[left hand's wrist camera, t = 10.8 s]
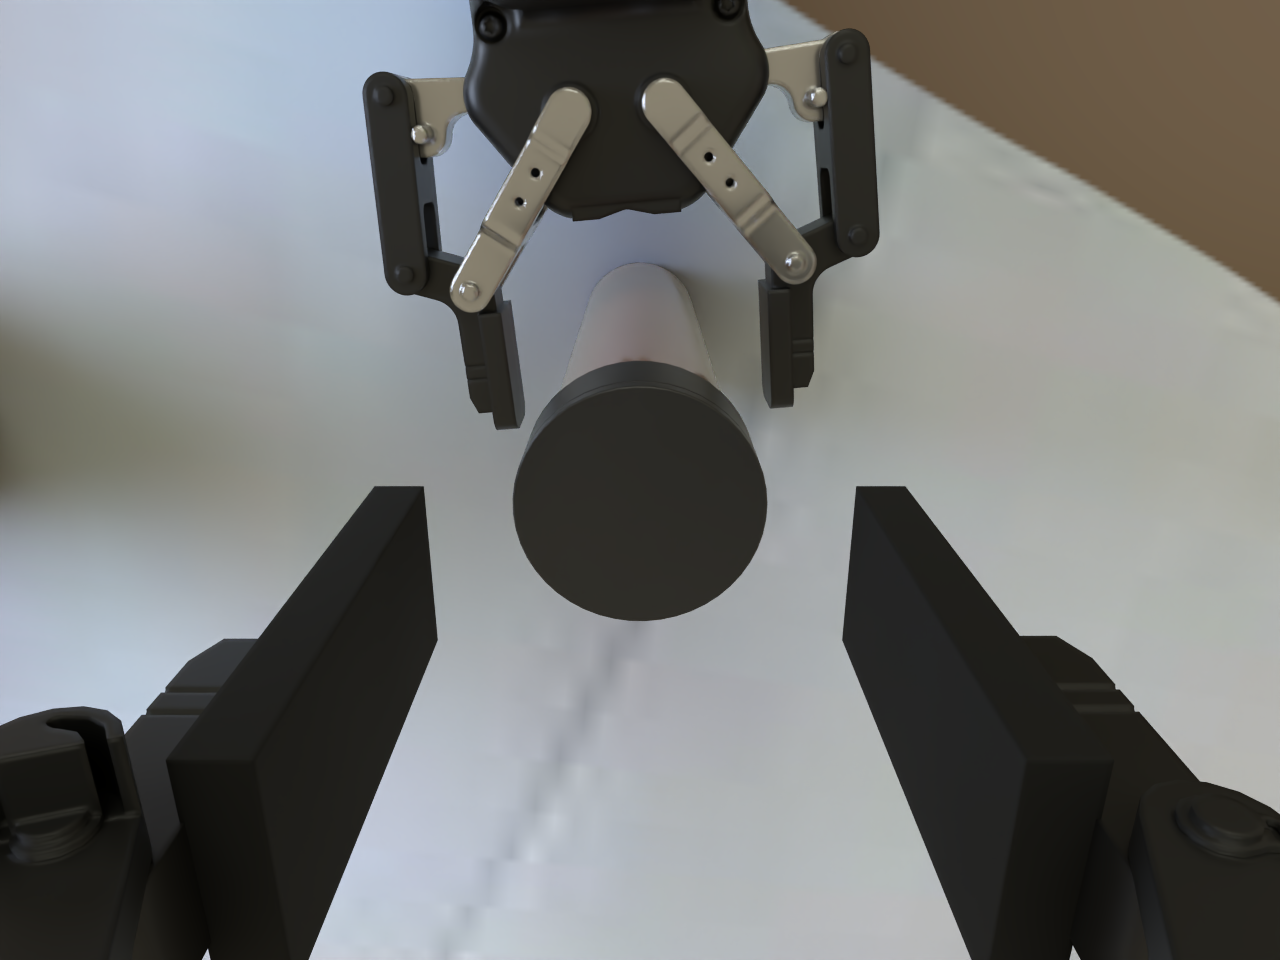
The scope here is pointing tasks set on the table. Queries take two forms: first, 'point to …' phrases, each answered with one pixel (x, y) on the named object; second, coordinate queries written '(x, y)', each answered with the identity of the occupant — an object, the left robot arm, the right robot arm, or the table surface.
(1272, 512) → the table surface
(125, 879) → the left robot arm
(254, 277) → the table surface
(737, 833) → the table surface
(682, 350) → the pinkish beige cylinder
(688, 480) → the lid
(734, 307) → the table surface
